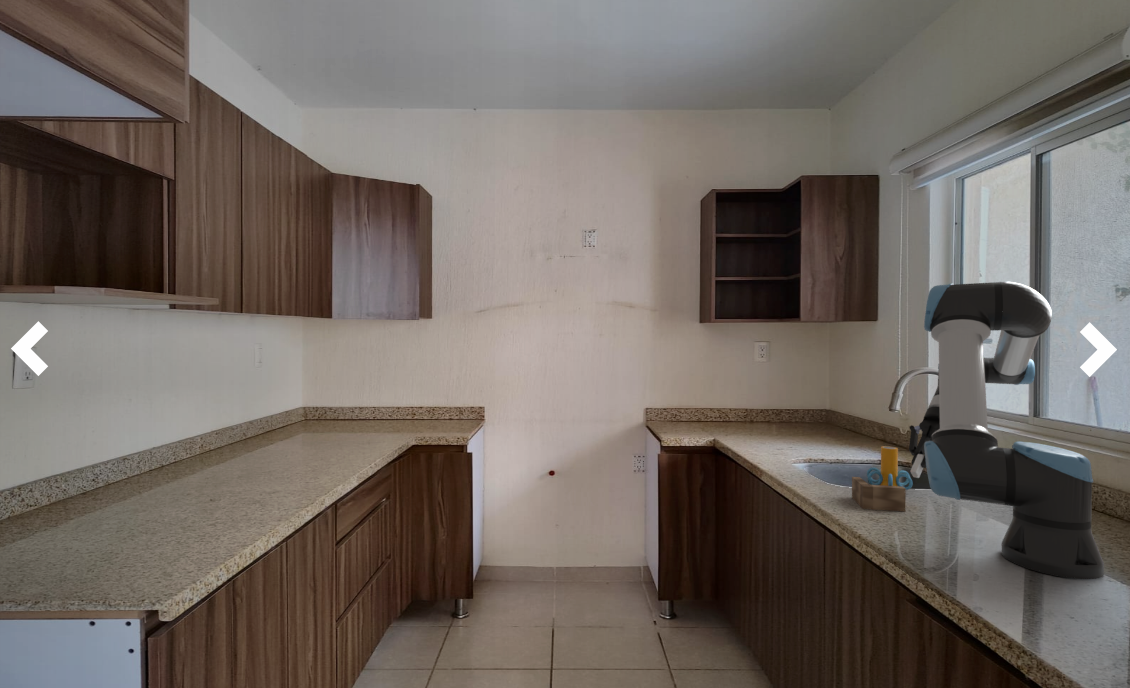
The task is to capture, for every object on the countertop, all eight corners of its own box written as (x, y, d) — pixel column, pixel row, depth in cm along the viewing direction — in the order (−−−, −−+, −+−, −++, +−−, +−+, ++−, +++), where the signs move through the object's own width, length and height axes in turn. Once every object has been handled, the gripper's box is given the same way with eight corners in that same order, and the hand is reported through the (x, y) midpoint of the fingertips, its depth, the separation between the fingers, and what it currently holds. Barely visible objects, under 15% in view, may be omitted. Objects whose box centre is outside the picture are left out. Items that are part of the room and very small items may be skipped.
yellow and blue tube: (866, 493, 155) (866, 442, 155) (908, 498, 150) (908, 445, 150) (868, 505, 144) (868, 449, 144) (913, 511, 139) (914, 453, 139)
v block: (854, 497, 151) (854, 476, 151) (908, 510, 139) (908, 487, 139) (837, 502, 147) (837, 480, 147) (891, 516, 135) (891, 492, 135)
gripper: (970, 423, 160) (944, 487, 151) (922, 418, 171) (895, 477, 162) (962, 407, 157) (935, 471, 149) (914, 402, 168) (886, 462, 160)
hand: (914, 474), depth 155 cm, fingers closed
